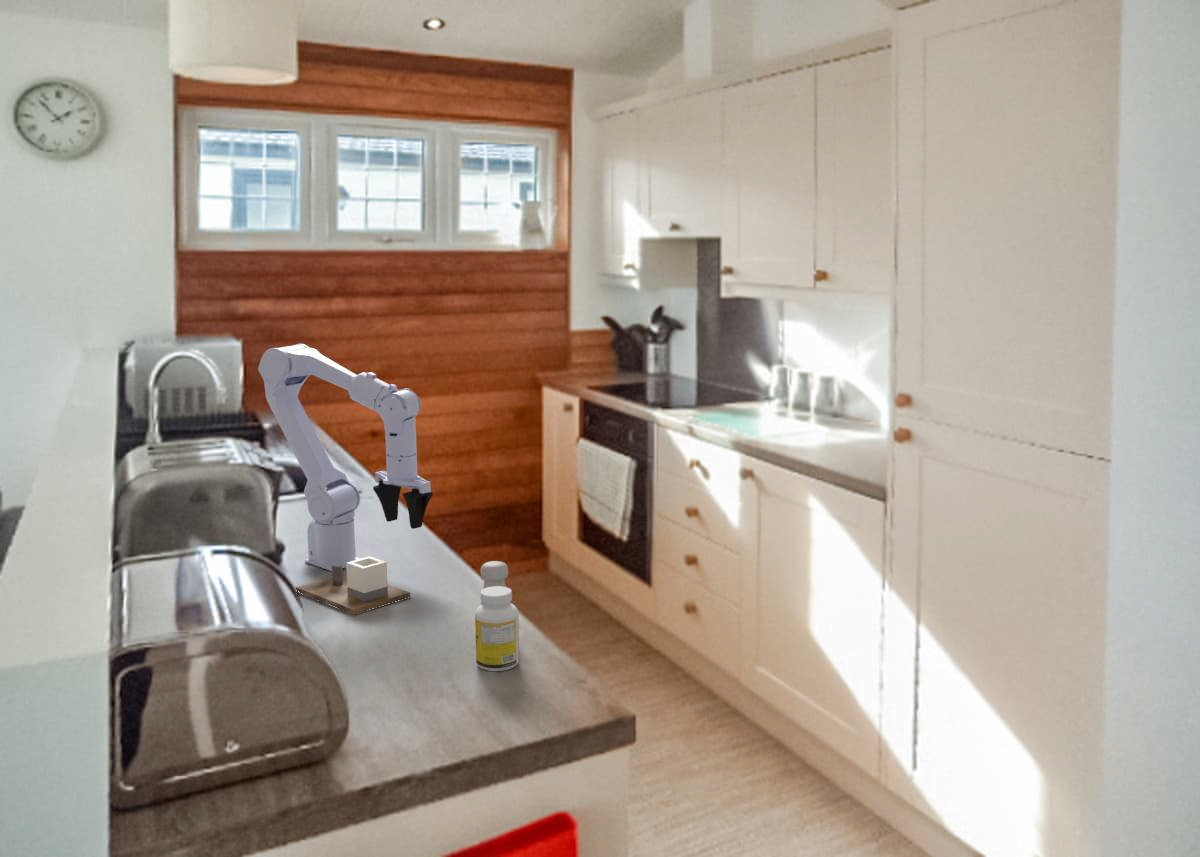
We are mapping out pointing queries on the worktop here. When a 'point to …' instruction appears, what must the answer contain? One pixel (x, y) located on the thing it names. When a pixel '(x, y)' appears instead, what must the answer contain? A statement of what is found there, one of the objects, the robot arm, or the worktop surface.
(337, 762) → the worktop surface
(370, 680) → the worktop surface
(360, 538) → the worktop surface
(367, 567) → the sleeve
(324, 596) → the pin board
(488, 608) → the pill bottle
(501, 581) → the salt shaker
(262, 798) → the worktop surface
